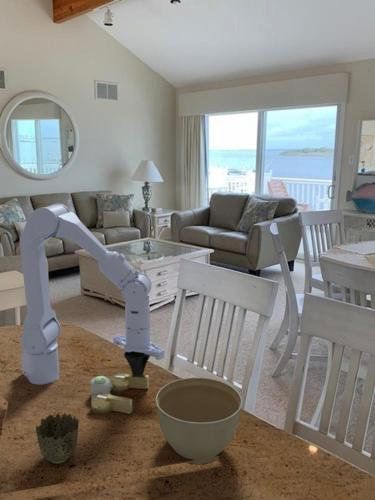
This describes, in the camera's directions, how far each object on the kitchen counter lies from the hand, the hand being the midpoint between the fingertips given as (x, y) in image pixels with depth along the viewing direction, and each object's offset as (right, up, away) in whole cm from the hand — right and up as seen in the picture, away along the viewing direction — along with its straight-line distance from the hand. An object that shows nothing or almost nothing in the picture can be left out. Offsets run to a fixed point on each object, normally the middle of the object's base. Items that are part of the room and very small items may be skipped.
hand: (138, 379), depth 111 cm
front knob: (-5, -3, -11) cm, 13 cm away
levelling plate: (-8, -3, -5) cm, 10 cm away
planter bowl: (+14, -7, -22) cm, 27 cm away
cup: (-12, -8, -27) cm, 30 cm away
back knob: (-2, -1, -2) cm, 3 cm away
